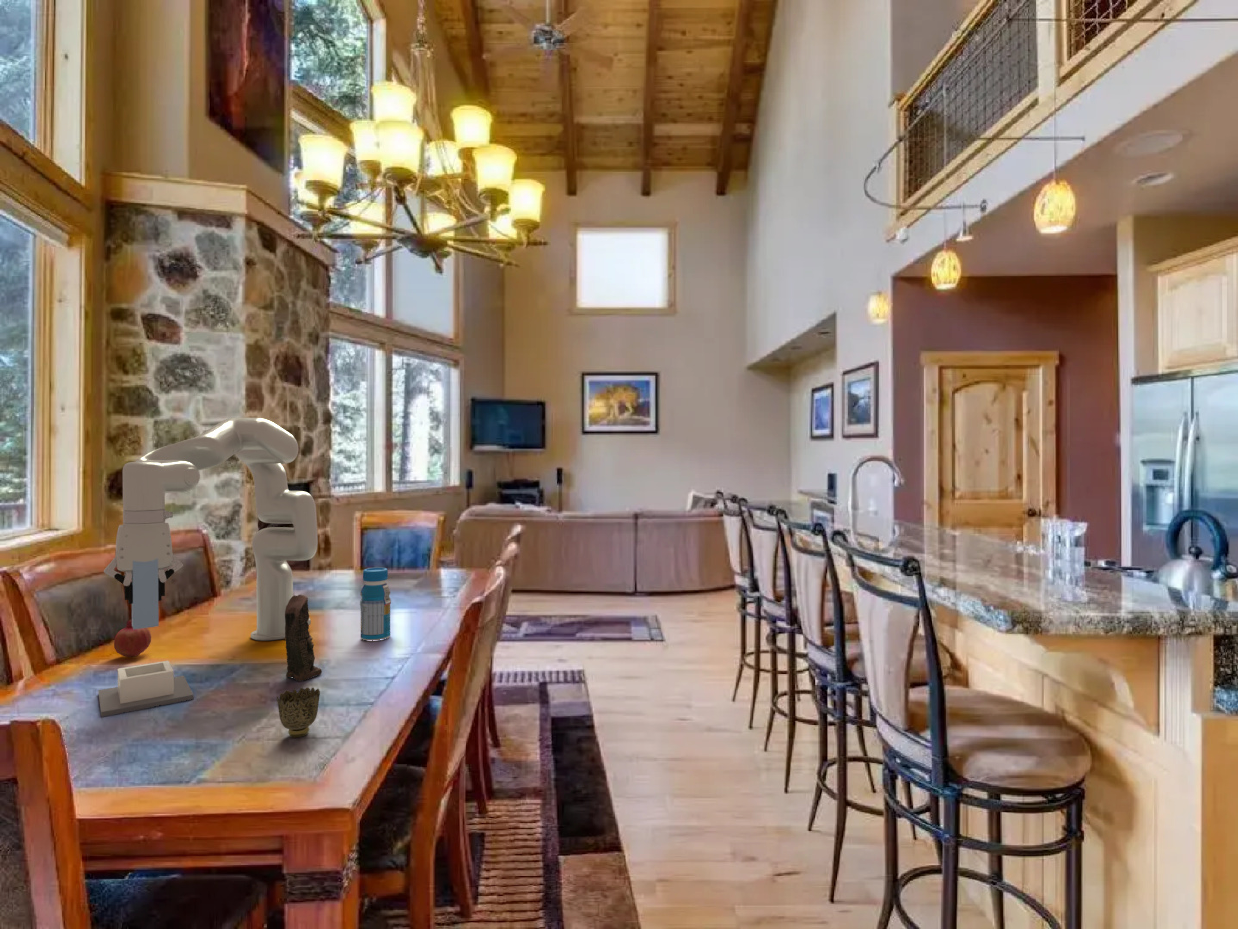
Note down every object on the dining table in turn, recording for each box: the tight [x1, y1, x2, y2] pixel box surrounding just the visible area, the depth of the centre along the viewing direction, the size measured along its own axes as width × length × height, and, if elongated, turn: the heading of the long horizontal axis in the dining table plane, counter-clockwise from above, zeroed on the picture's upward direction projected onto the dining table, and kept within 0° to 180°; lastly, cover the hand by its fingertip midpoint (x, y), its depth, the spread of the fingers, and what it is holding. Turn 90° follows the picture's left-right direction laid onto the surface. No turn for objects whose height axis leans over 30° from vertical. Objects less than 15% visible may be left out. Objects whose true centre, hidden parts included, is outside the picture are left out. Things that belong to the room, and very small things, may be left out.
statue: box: [284, 594, 323, 682], centre depth 163 cm, size 7×7×20 cm
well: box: [97, 660, 194, 718], centre depth 150 cm, size 16×16×6 cm
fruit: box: [113, 618, 152, 658], centre depth 178 cm, size 8×8×10 cm
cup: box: [276, 687, 321, 739], centre depth 130 cm, size 8×7×8 cm
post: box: [131, 559, 160, 629], centre depth 149 cm, size 4×4×15 cm
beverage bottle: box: [359, 567, 392, 642], centre depth 197 cm, size 8×8×20 cm
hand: (144, 600), depth 149 cm, fingers closed on post, 4 cm apart
